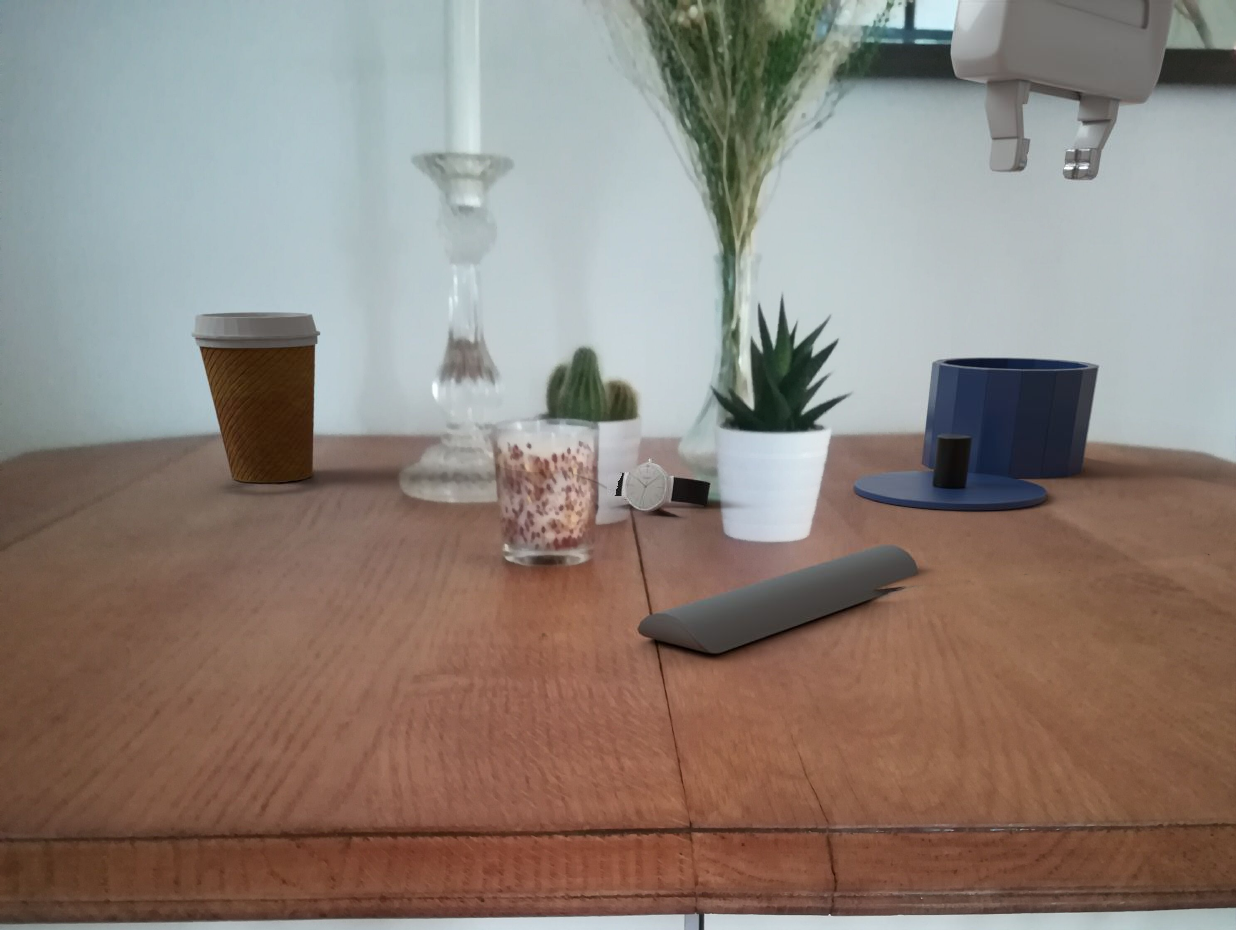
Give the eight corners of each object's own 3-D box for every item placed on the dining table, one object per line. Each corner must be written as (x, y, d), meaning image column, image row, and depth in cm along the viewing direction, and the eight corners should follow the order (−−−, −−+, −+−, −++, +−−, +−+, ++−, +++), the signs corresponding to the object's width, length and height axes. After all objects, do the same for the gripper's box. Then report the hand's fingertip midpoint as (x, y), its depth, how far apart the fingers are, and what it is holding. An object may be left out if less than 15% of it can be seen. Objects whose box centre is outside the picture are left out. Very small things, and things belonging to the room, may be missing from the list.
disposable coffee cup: (184, 479, 96) (161, 315, 91) (274, 463, 104) (257, 310, 99) (270, 491, 92) (251, 319, 87) (358, 473, 99) (344, 314, 94)
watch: (593, 510, 86) (593, 456, 84) (623, 499, 89) (624, 448, 88) (693, 520, 82) (695, 465, 81) (721, 508, 86) (723, 455, 85)
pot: (1011, 457, 108) (1025, 355, 105) (1114, 480, 98) (1134, 367, 94) (892, 466, 104) (902, 359, 100) (986, 490, 93) (1002, 372, 90)
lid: (965, 480, 97) (972, 420, 95) (1086, 511, 86) (1097, 443, 84) (818, 492, 92) (822, 428, 90) (925, 525, 81) (933, 454, 79)
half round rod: (923, 583, 67) (926, 550, 66) (701, 662, 54) (703, 623, 53) (856, 570, 69) (858, 539, 69) (629, 643, 56) (630, 605, 55)
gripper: (1045, -136, 64) (1006, 164, 69) (1205, -66, 77) (1160, 182, 83) (940, -114, 68) (911, 168, 74) (1109, -51, 81) (1072, 184, 87)
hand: (1044, 176), depth 78 cm, fingers open, 8 cm apart
